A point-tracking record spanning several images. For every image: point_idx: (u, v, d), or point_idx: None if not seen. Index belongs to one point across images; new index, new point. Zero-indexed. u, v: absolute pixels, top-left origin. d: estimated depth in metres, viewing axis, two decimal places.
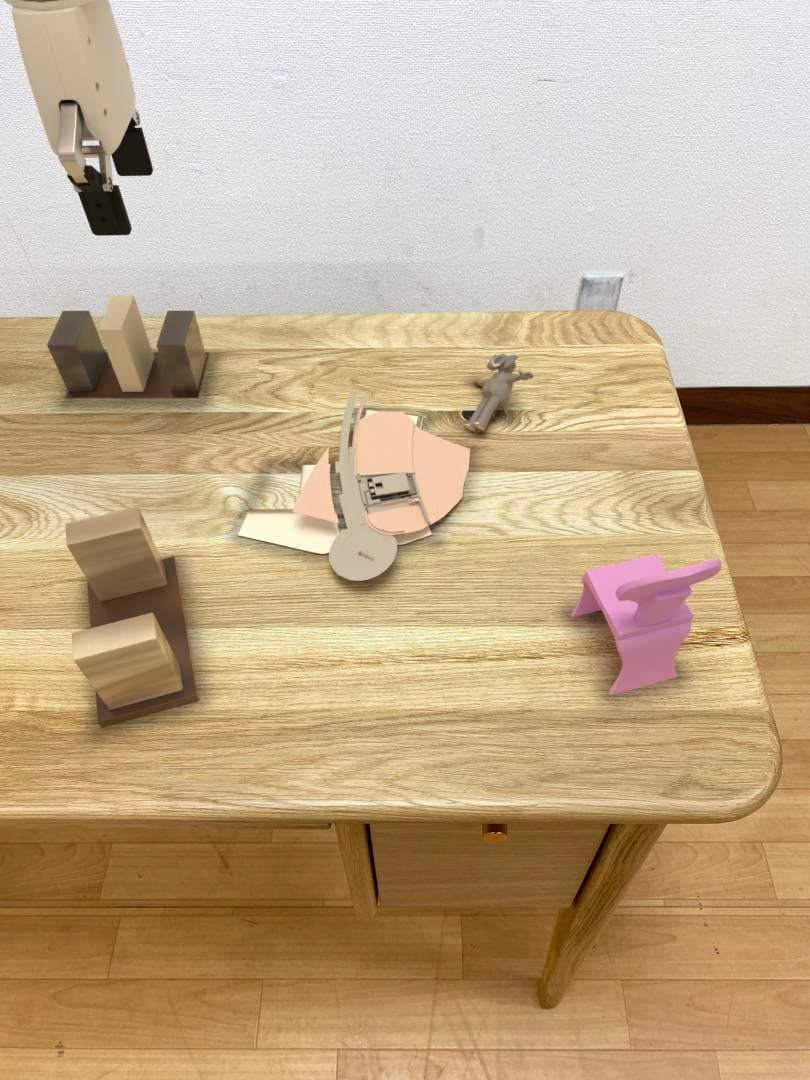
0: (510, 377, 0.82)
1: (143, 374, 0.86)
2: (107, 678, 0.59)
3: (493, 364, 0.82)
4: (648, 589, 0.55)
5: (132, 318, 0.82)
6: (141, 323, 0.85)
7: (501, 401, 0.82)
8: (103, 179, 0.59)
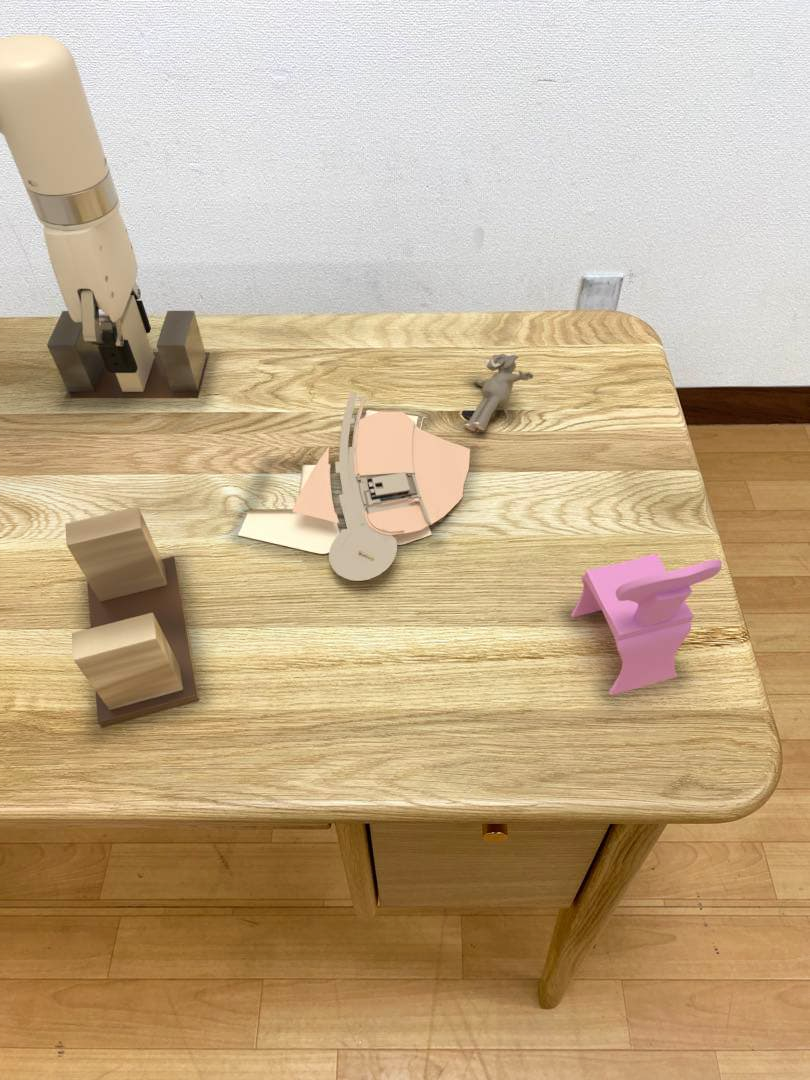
0: (510, 377, 0.82)
1: (143, 374, 0.86)
2: (107, 678, 0.59)
3: (493, 364, 0.82)
4: (648, 589, 0.55)
5: (132, 318, 0.82)
6: (141, 323, 0.85)
7: (501, 401, 0.82)
8: (116, 340, 0.78)
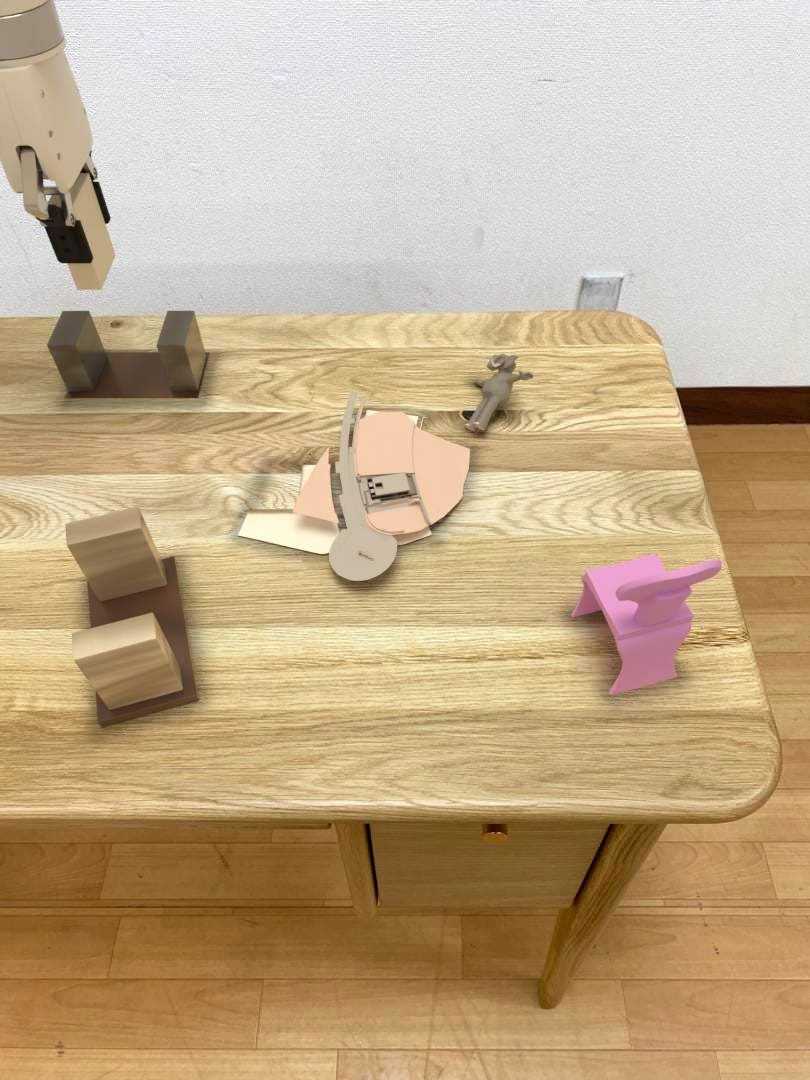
0: (510, 377, 0.82)
1: (100, 269, 0.74)
2: (107, 678, 0.59)
3: (493, 364, 0.82)
4: (648, 589, 0.55)
5: (87, 199, 0.71)
6: (98, 209, 0.74)
7: (501, 401, 0.82)
8: (66, 218, 0.67)
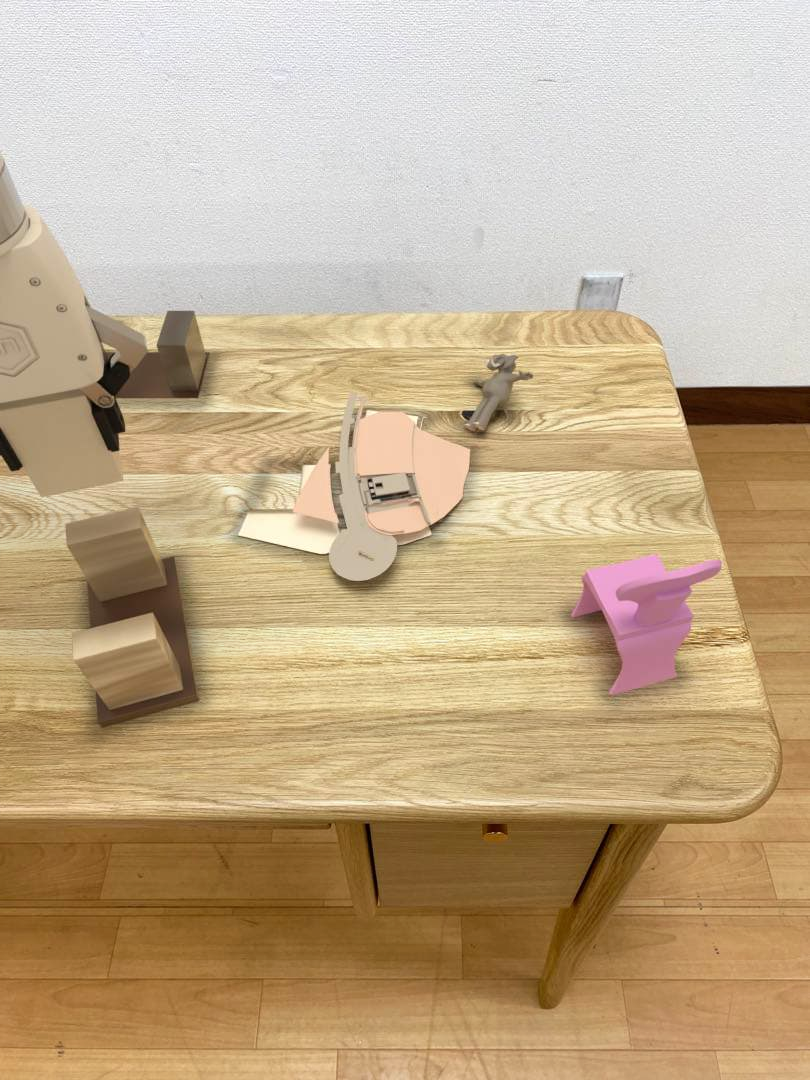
0: (510, 377, 0.82)
1: None
2: (107, 678, 0.59)
3: (493, 364, 0.82)
4: (648, 589, 0.55)
5: None
6: None
7: (501, 401, 0.82)
8: None
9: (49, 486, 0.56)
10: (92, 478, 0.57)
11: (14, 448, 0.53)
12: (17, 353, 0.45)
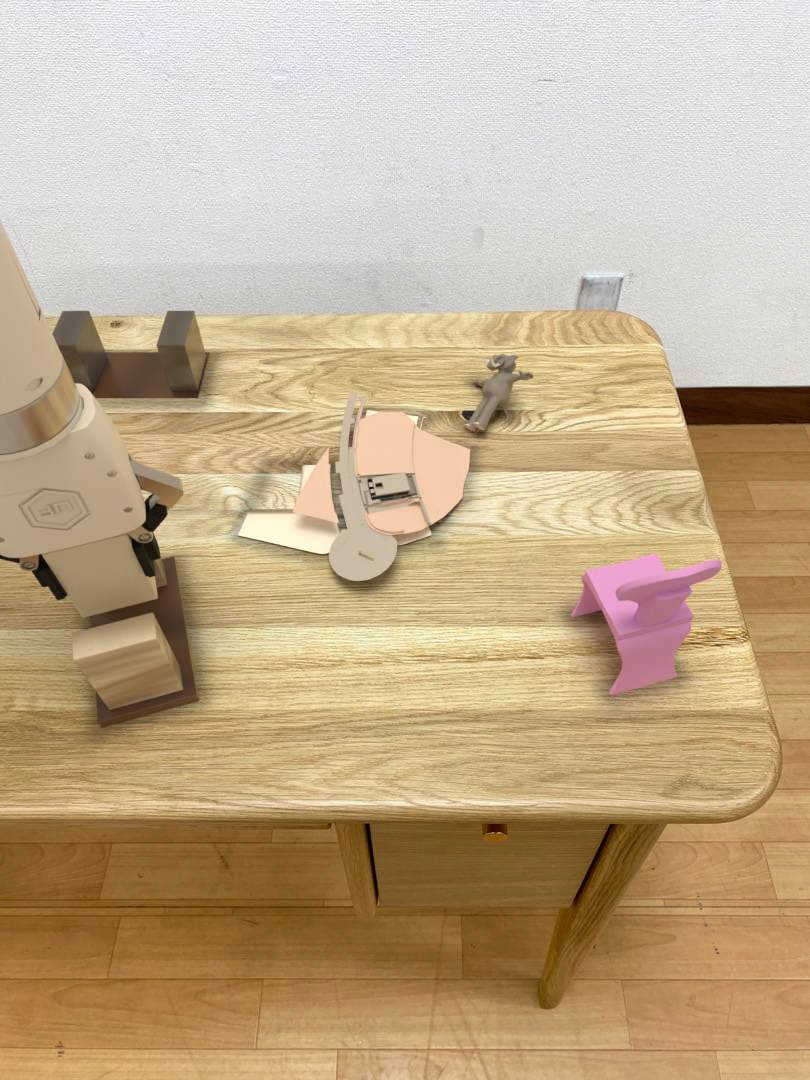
0: (510, 377, 0.82)
1: None
2: (107, 678, 0.59)
3: (493, 364, 0.82)
4: (648, 589, 0.55)
5: None
6: None
7: (501, 401, 0.82)
8: None
9: (90, 608, 0.61)
10: (129, 598, 0.61)
11: (60, 581, 0.57)
12: (70, 512, 0.50)
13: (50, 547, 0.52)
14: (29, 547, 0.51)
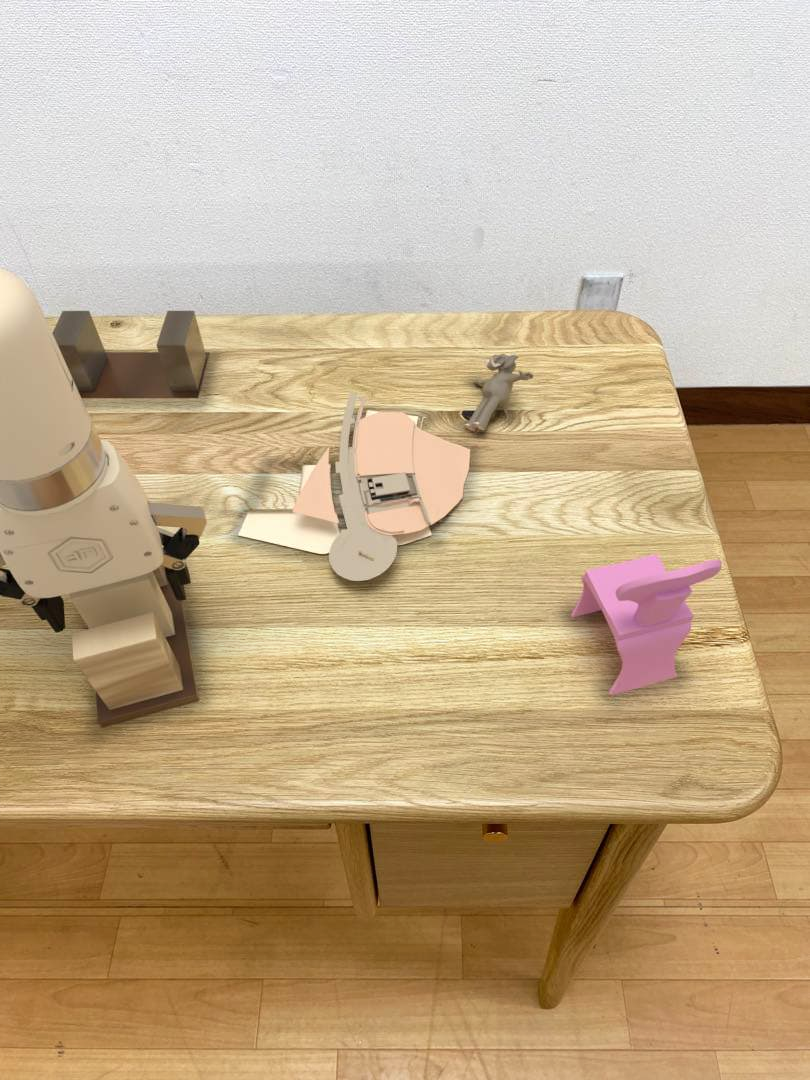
0: (510, 377, 0.82)
1: None
2: (107, 678, 0.59)
3: (493, 364, 0.82)
4: (648, 589, 0.55)
5: None
6: None
7: (501, 401, 0.82)
8: None
9: None
10: None
11: (86, 621, 0.62)
12: (95, 557, 0.54)
13: (74, 588, 0.56)
14: (56, 588, 0.55)
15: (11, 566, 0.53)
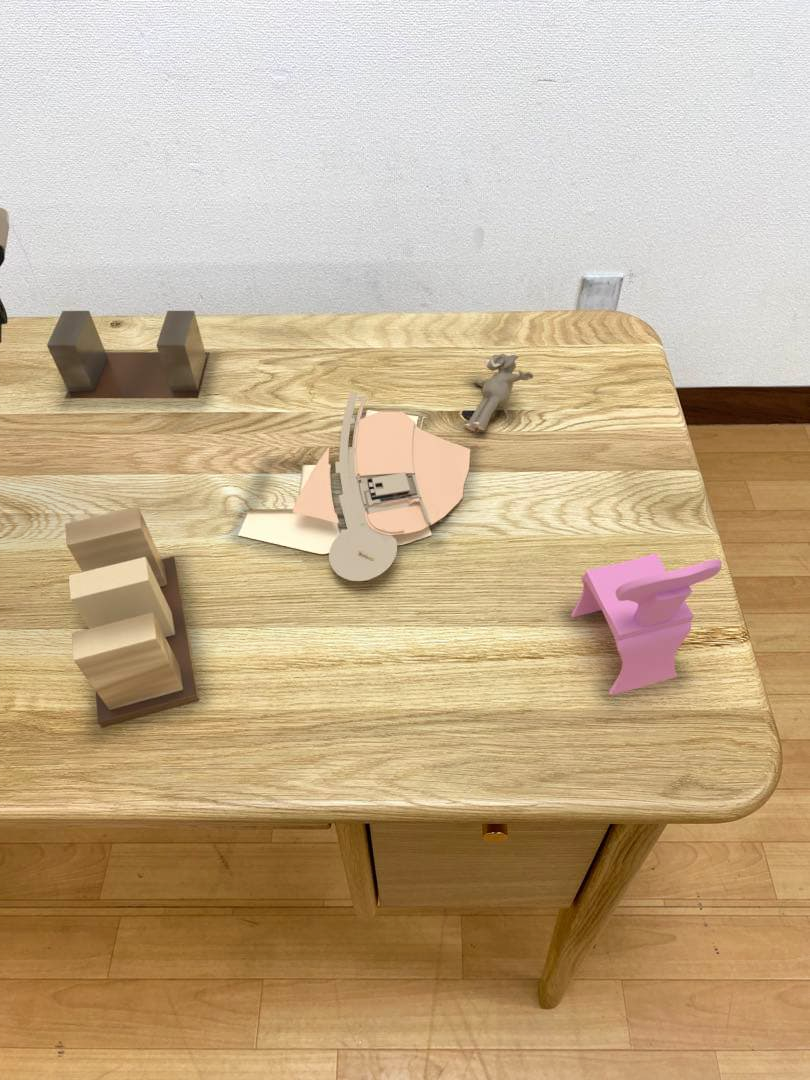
0: (510, 377, 0.82)
1: None
2: (107, 678, 0.59)
3: (493, 364, 0.82)
4: (648, 589, 0.55)
5: None
6: None
7: (501, 401, 0.82)
8: None
9: None
10: None
11: (86, 621, 0.62)
12: None
13: None
14: None
15: None
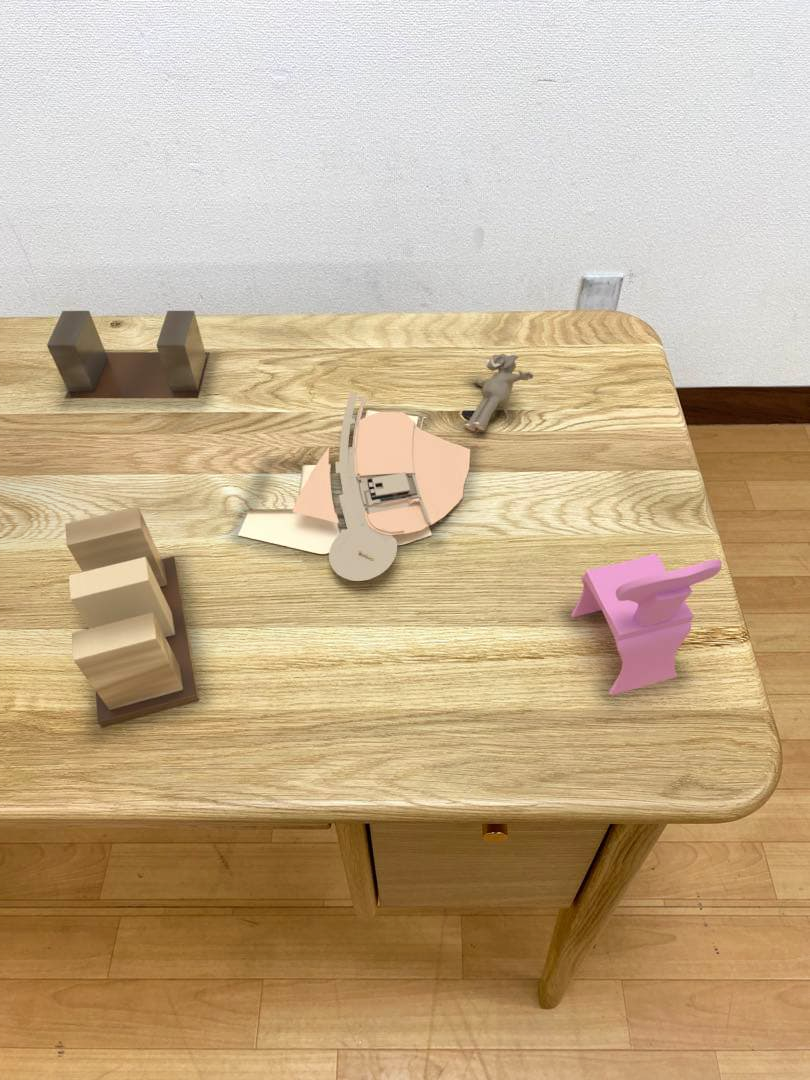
0: (510, 377, 0.82)
1: None
2: (107, 678, 0.59)
3: (493, 364, 0.82)
4: (648, 589, 0.55)
5: None
6: None
7: (501, 401, 0.82)
8: None
9: None
10: None
11: (86, 621, 0.62)
12: None
13: None
14: None
15: None
